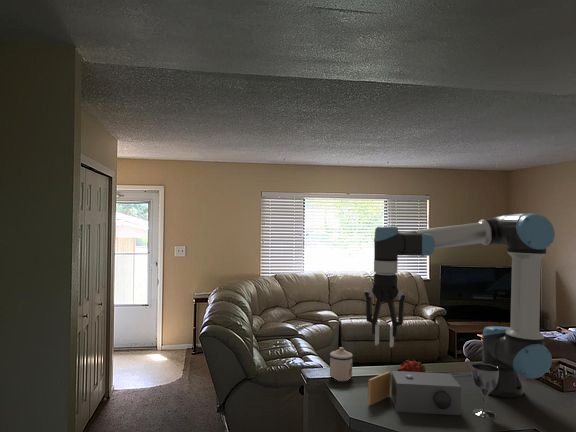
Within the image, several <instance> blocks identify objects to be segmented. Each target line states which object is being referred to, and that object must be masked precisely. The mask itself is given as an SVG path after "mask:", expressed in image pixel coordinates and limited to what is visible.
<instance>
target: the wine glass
mask: <svg viewBox="0 0 576 432" xmlns="http://www.w3.org/2000/svg"><path fill="white" fill-rule="evenodd" d="M471 378H472V382H473V383H474V385H475V387H476V388H477V389H478V391H479V392H480V394H481V395H482V405H483V406H482V408H476V409H473V410H472V414H473V415H474V416H476V417H478V418H480V419H487V420H493V419H492V418H495V417H496V416H497V414H496V413H495V412H493V411H490V410H487V399H488V396H489V395H490V394H489V393H490V392H491V391H492V390H494V389H495V387H496V386H497V383H498V378H499V368H498V367H496V366H494V365H490V364H485V363H483V362H477V363H476V362H475V363H473V364H471ZM497 417H498V416H497ZM497 417H496V418H497ZM496 418H495V419H496Z"/></svg>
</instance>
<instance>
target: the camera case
mask: <svg viewBox="0 0 576 432" xmlns="http://www.w3.org/2000/svg"><path fill="white" fill-rule="evenodd" d="M390 398H391V400H392V402H393V403H392V404H393V405H394V408H395V411H396V412H397V413H398V412H399V413H414V414H415V413H416V414H430V415H431V414H432V415H433V414H435V415H436V414H437V415H449V416H450V415H451V416H462V386H461V384H459V382H458V381H457V380H456V379H455V377H454V376H453V375H452V373H442V372H440V373H439V372H426V371H425V372H404V371H397V370H391V372H390Z"/></svg>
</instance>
